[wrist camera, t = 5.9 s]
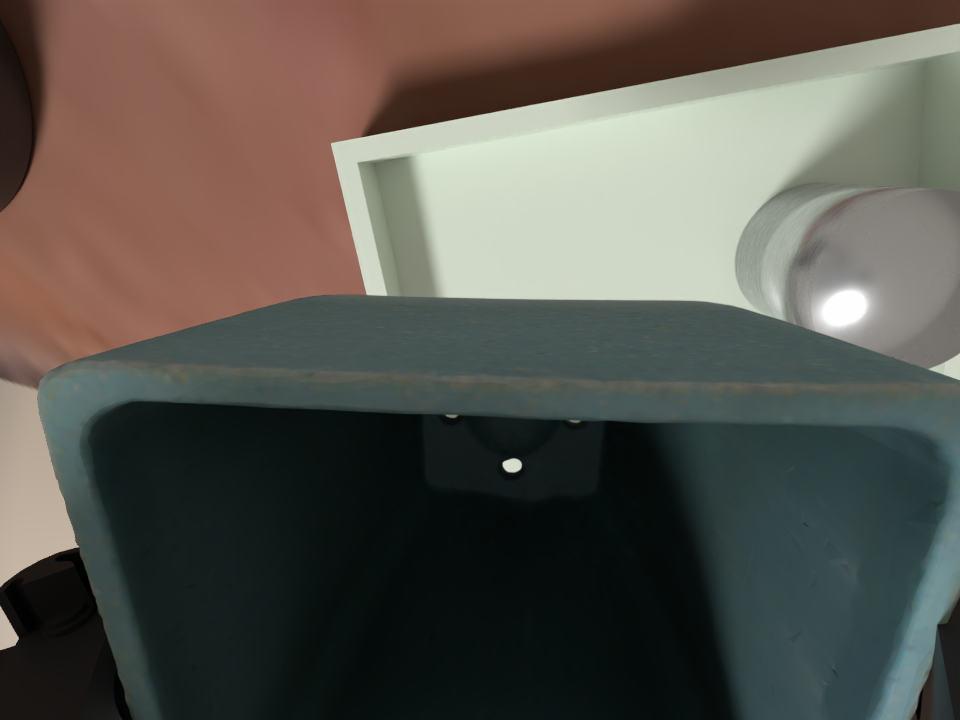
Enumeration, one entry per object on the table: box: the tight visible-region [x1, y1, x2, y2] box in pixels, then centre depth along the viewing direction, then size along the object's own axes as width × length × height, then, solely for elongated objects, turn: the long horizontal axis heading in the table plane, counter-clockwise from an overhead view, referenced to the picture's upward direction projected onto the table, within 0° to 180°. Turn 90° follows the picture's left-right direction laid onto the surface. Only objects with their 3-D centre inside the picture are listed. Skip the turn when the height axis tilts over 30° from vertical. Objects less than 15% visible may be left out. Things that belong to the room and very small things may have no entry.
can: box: [735, 183, 960, 369], centre depth 24 cm, size 7×7×8 cm
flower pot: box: [37, 295, 960, 720], centre depth 10 cm, size 9×9×9 cm
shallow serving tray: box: [331, 24, 960, 472], centre depth 28 cm, size 28×18×4 cm, turn 100°
